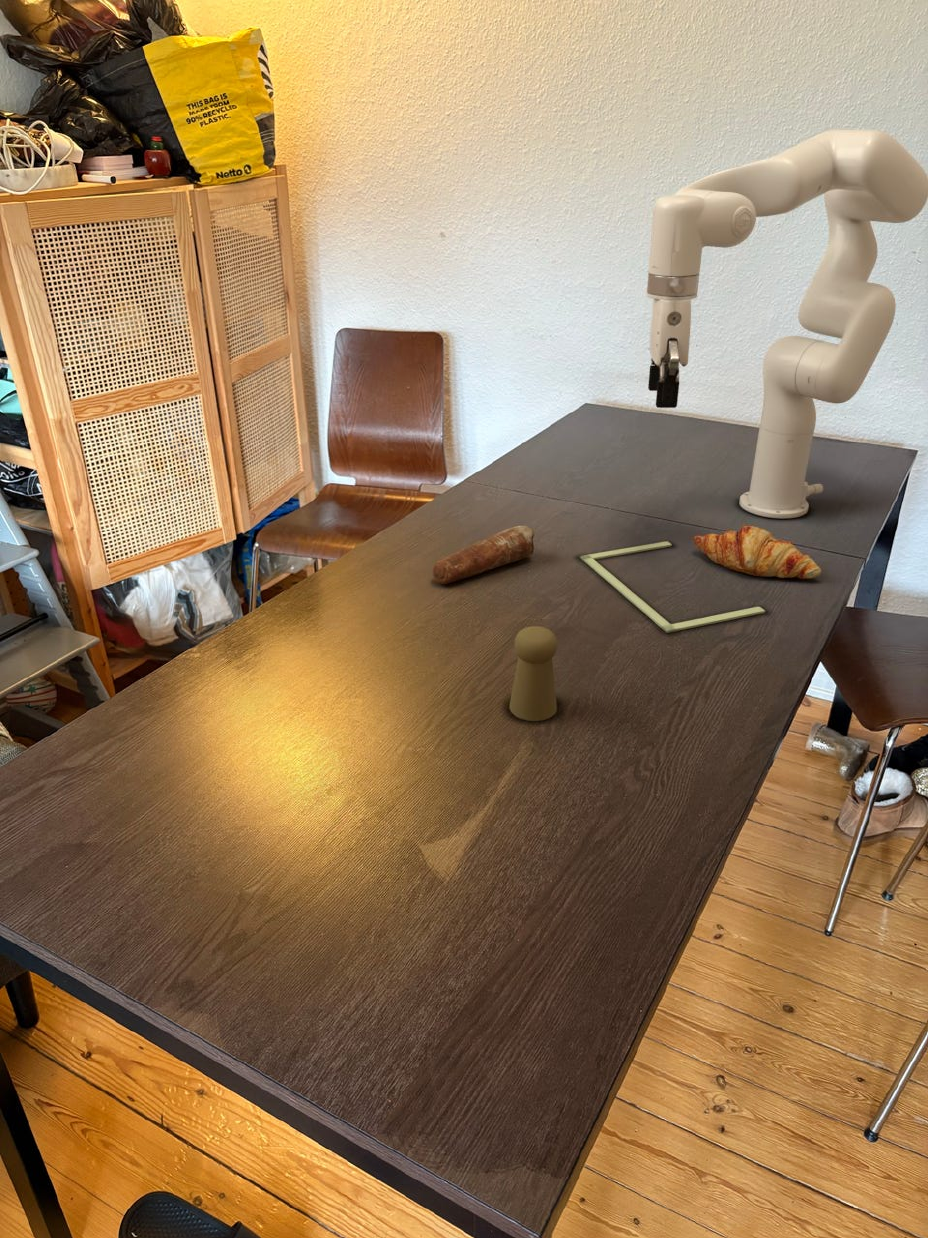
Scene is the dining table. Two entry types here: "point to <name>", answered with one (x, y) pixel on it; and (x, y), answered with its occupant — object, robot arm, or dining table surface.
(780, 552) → the croissant
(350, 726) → the dining table surface
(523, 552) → the bread
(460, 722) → the dining table surface
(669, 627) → the frame
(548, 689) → the tan game pawn
